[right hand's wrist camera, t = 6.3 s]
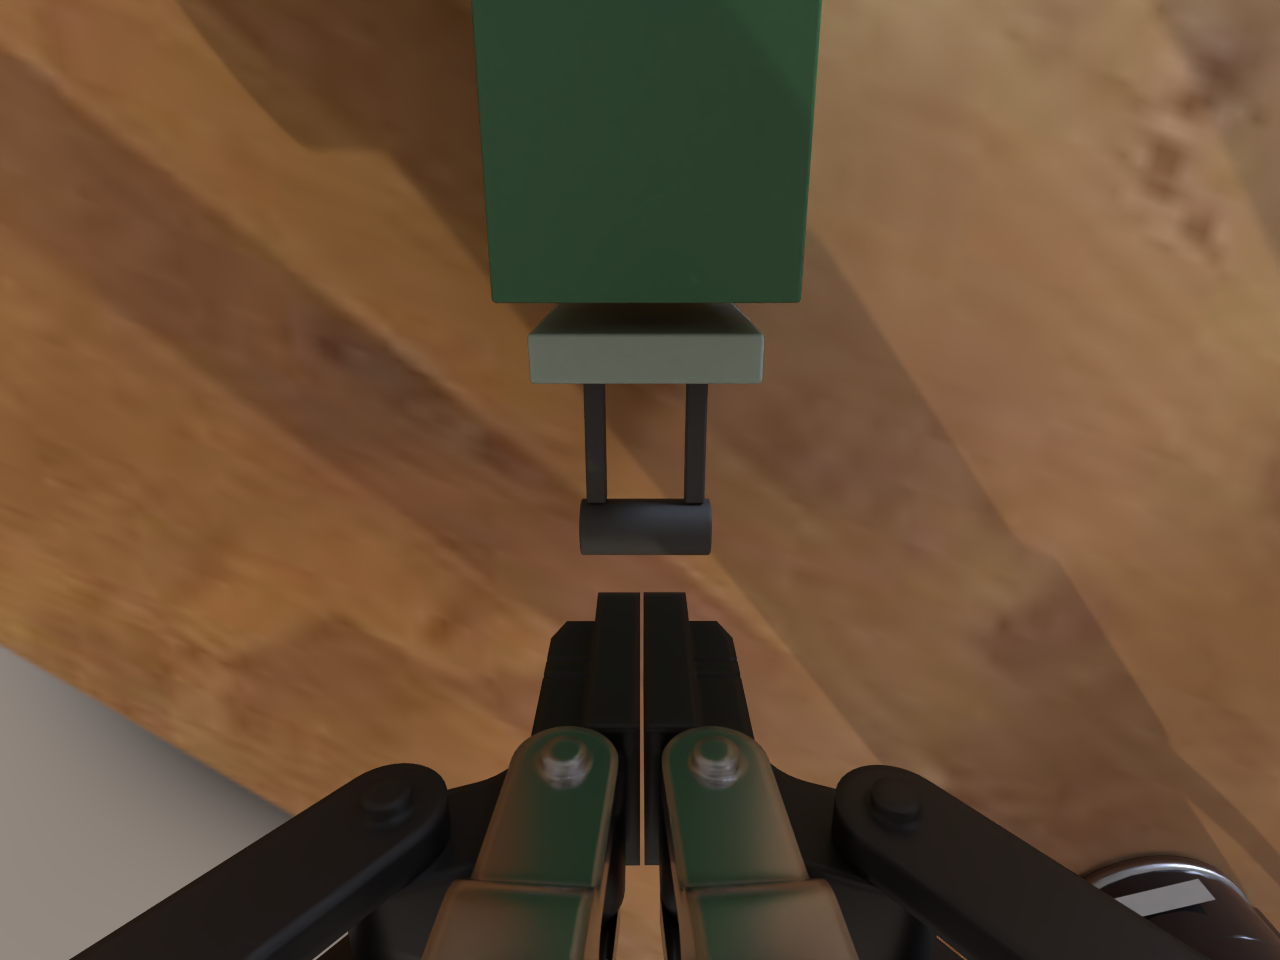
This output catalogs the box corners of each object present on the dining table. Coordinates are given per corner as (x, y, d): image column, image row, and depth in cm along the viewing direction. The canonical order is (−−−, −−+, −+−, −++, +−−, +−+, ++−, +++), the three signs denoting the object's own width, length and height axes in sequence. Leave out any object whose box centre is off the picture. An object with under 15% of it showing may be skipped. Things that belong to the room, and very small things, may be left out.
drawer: (721, 510, 27) (749, 615, 20) (568, 509, 27) (541, 614, 20) (761, -501, 18) (837, -965, 11) (531, -500, 18) (457, -961, 11)
